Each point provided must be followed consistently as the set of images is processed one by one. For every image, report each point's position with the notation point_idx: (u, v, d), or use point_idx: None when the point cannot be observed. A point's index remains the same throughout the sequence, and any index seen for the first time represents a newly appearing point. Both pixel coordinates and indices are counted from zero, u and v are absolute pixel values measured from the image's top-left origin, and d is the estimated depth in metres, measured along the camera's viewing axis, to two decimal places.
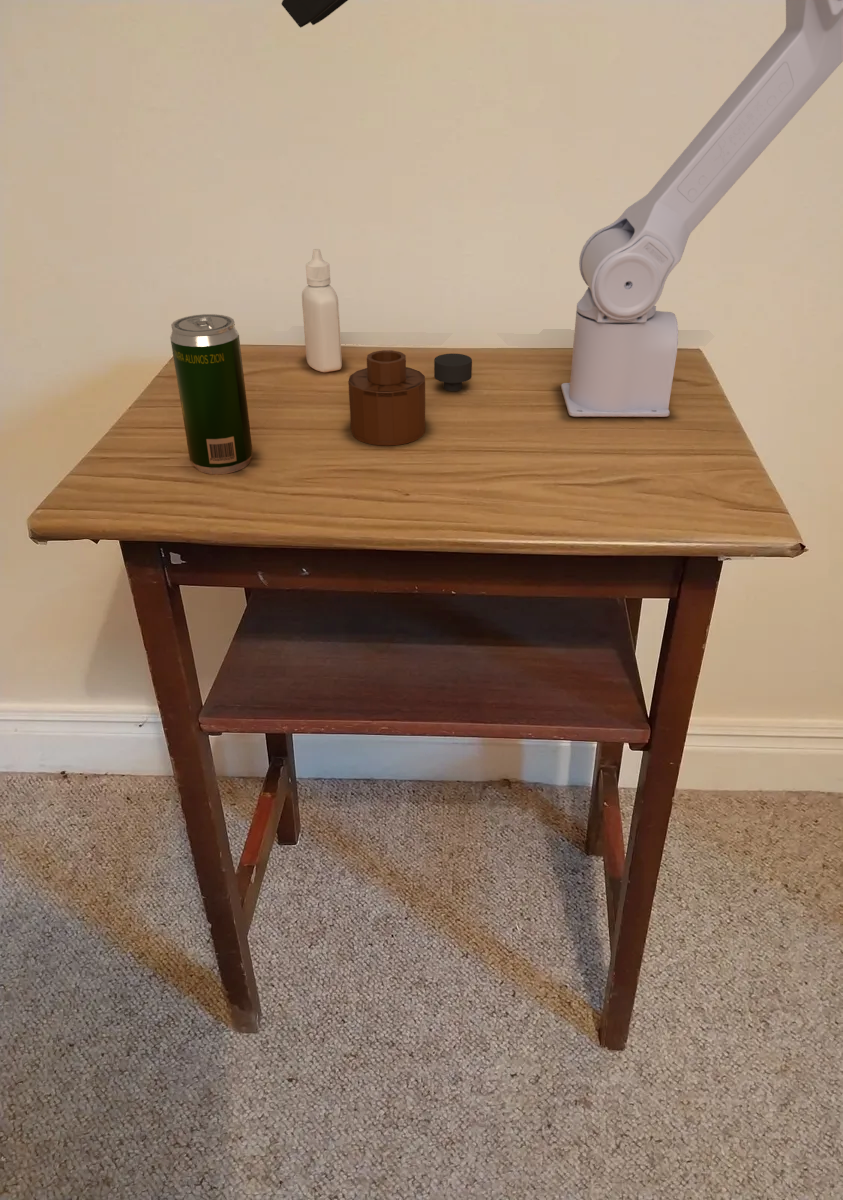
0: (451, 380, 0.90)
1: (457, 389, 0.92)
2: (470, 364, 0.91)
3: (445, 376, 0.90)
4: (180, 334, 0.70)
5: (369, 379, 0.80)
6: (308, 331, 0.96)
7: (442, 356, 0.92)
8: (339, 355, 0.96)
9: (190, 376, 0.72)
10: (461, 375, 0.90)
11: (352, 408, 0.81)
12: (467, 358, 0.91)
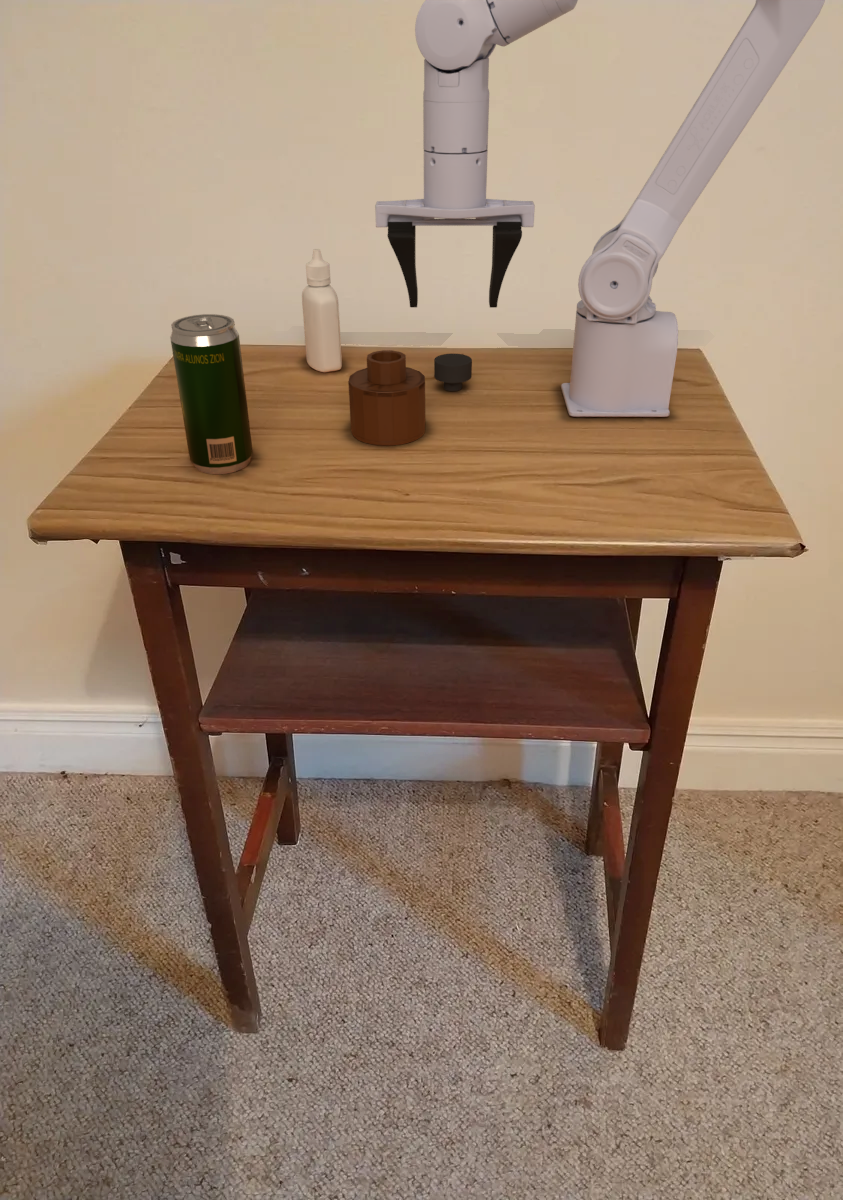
0: (451, 380, 0.90)
1: (457, 389, 0.92)
2: (470, 364, 0.91)
3: (445, 376, 0.90)
4: (180, 334, 0.70)
5: (369, 379, 0.80)
6: (308, 331, 0.96)
7: (442, 356, 0.92)
8: (339, 355, 0.96)
9: (190, 376, 0.72)
10: (461, 375, 0.90)
11: (352, 408, 0.81)
12: (467, 358, 0.91)
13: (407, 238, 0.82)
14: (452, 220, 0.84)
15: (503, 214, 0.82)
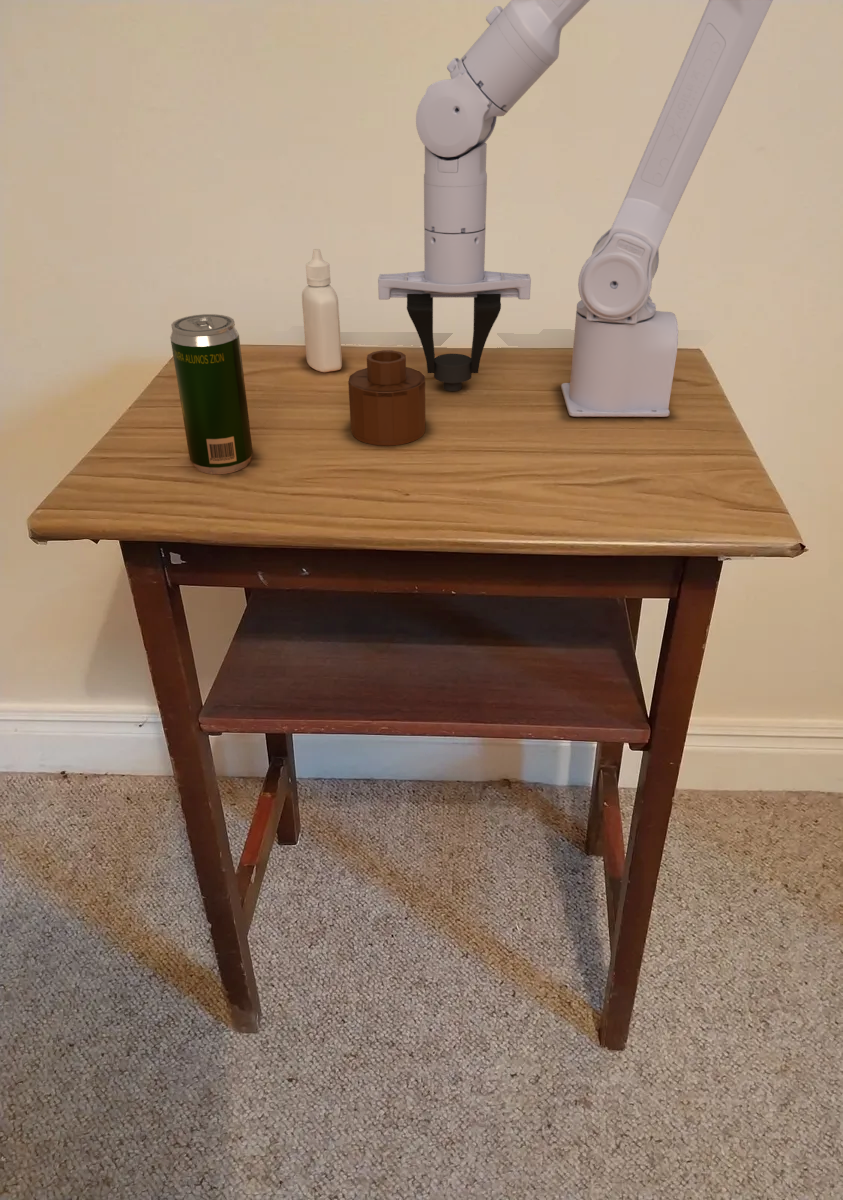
0: (451, 381, 0.90)
1: (457, 389, 0.92)
2: (470, 364, 0.91)
3: (445, 376, 0.90)
4: (180, 334, 0.70)
5: (369, 379, 0.80)
6: (308, 331, 0.96)
7: (442, 356, 0.92)
8: (339, 355, 0.96)
9: (190, 376, 0.72)
10: (461, 375, 0.90)
11: (352, 408, 0.81)
12: (467, 358, 0.91)
13: (426, 311, 0.86)
14: (452, 292, 0.87)
15: (500, 288, 0.86)
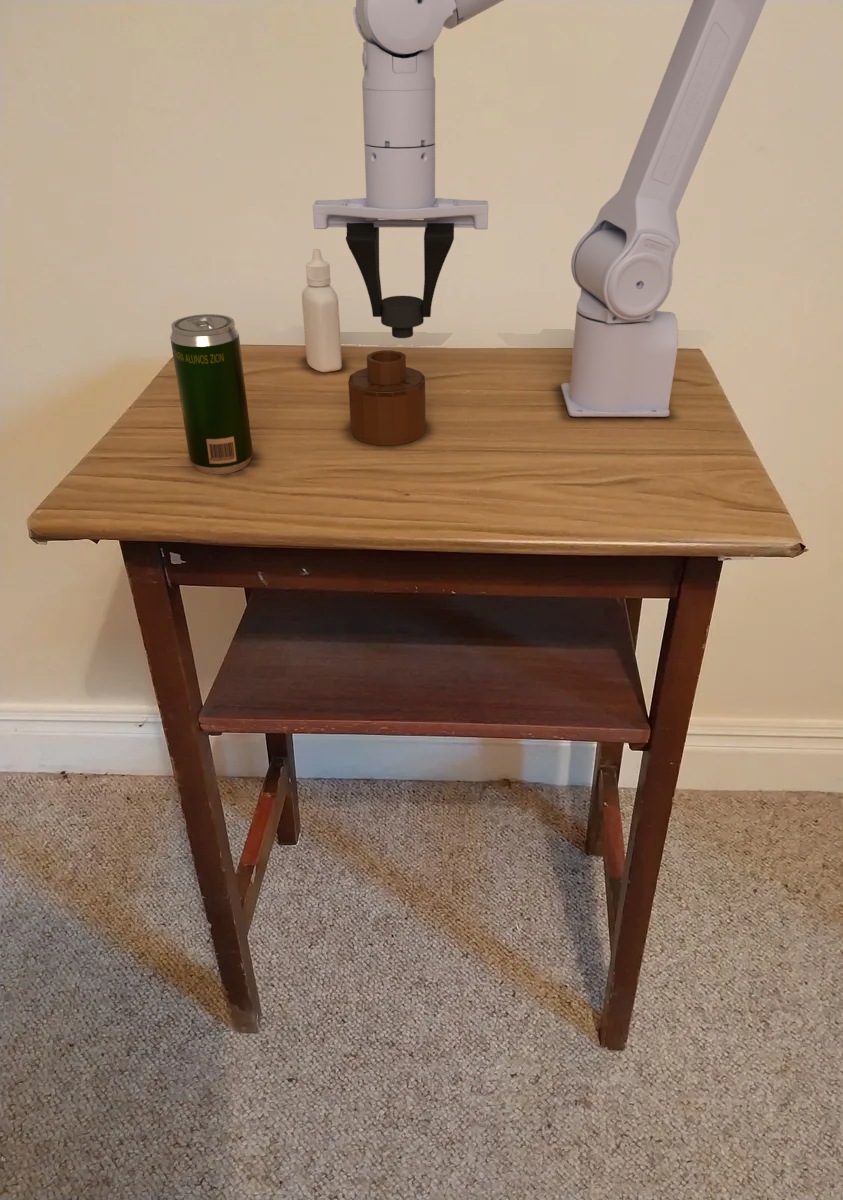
0: (399, 325, 0.79)
1: (407, 336, 0.81)
2: (421, 306, 0.79)
3: (392, 320, 0.79)
4: (180, 334, 0.70)
5: (369, 379, 0.80)
6: (308, 331, 0.96)
7: (390, 298, 0.81)
8: (339, 355, 0.96)
9: (190, 376, 0.72)
10: (410, 319, 0.79)
11: (352, 408, 0.81)
12: (418, 300, 0.80)
13: (367, 241, 0.75)
14: (398, 221, 0.76)
15: (453, 215, 0.74)
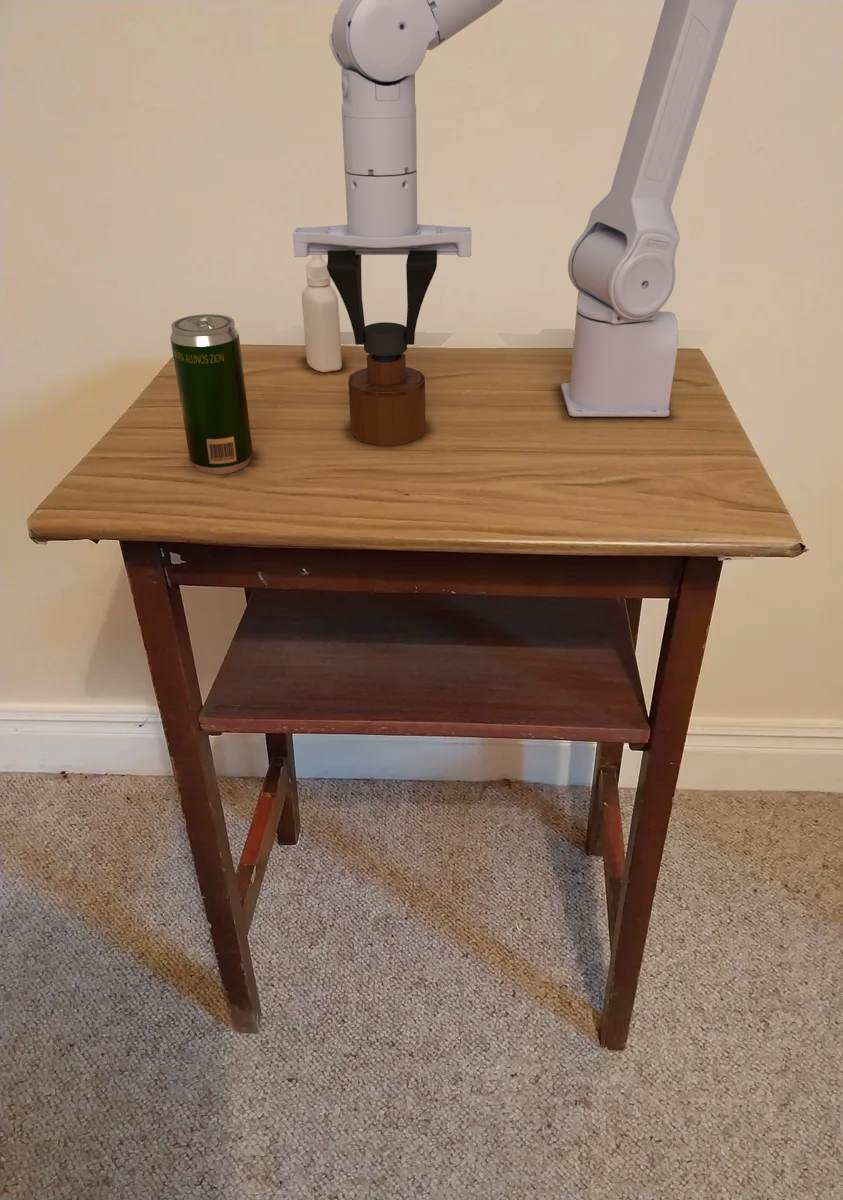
0: (382, 353, 0.78)
1: None
2: (404, 334, 0.78)
3: (375, 348, 0.78)
4: (180, 334, 0.70)
5: (369, 379, 0.80)
6: (308, 331, 0.96)
7: (373, 325, 0.79)
8: (339, 355, 0.96)
9: (190, 376, 0.72)
10: (394, 346, 0.78)
11: (352, 408, 0.81)
12: (401, 327, 0.79)
13: (348, 269, 0.73)
14: (380, 249, 0.75)
15: (436, 242, 0.73)
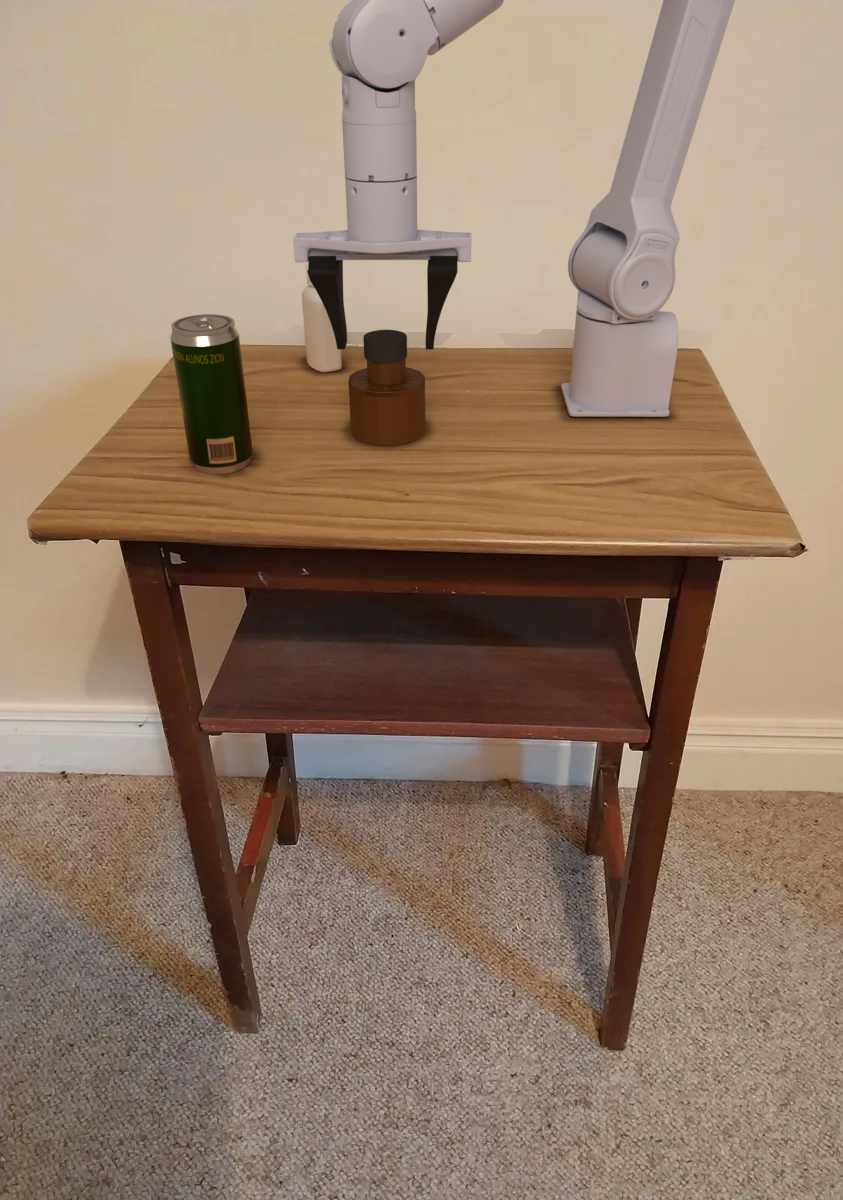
0: (382, 360, 0.78)
1: None
2: (404, 341, 0.79)
3: (375, 355, 0.78)
4: (180, 334, 0.70)
5: (369, 379, 0.80)
6: (308, 331, 0.96)
7: (373, 332, 0.80)
8: (339, 355, 0.96)
9: (190, 376, 0.72)
10: (394, 354, 0.78)
11: (352, 408, 0.81)
12: (401, 334, 0.79)
13: (328, 275, 0.74)
14: (380, 254, 0.75)
15: (436, 248, 0.73)
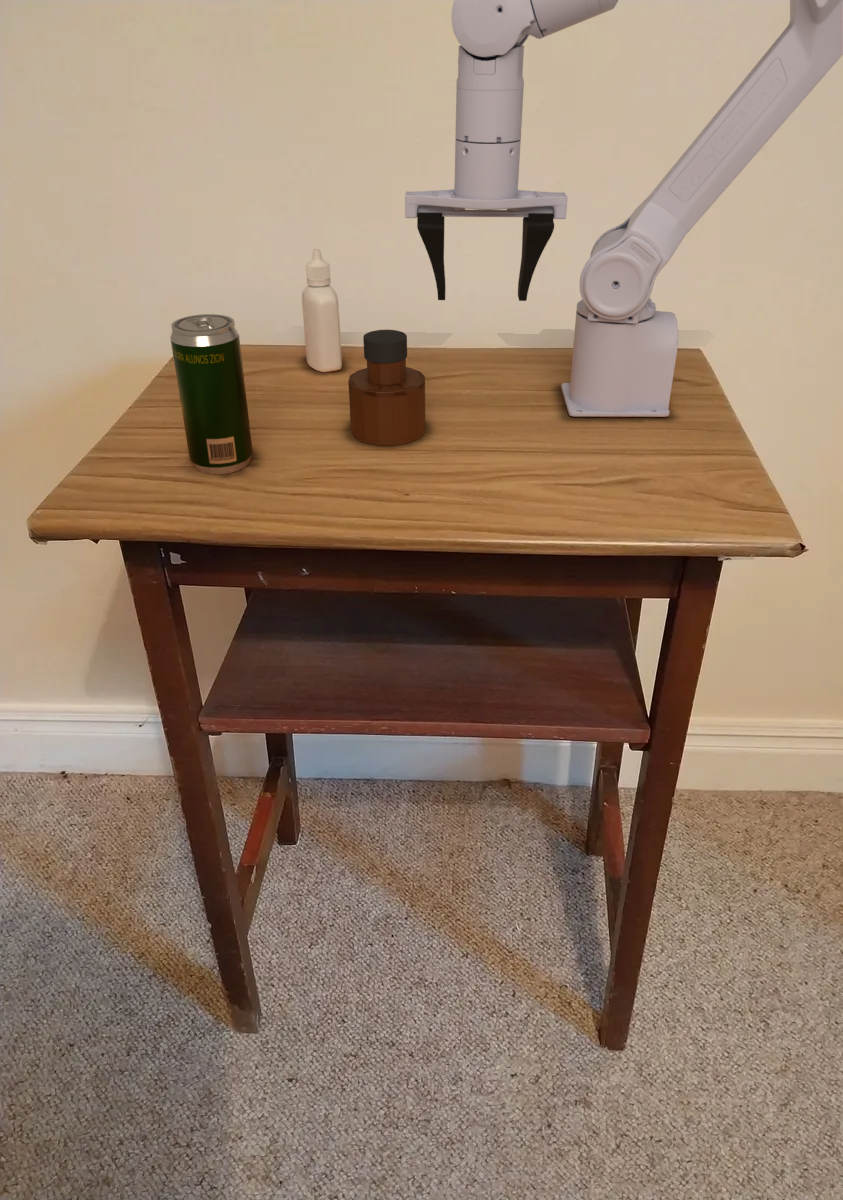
0: (382, 360, 0.78)
1: None
2: (404, 341, 0.79)
3: (375, 355, 0.78)
4: (180, 334, 0.70)
5: (369, 379, 0.80)
6: (308, 331, 0.96)
7: (373, 332, 0.80)
8: (339, 355, 0.96)
9: (190, 376, 0.72)
10: (394, 354, 0.78)
11: (352, 408, 0.81)
12: (401, 334, 0.79)
13: (437, 229, 0.81)
14: (483, 211, 0.82)
15: (535, 205, 0.81)
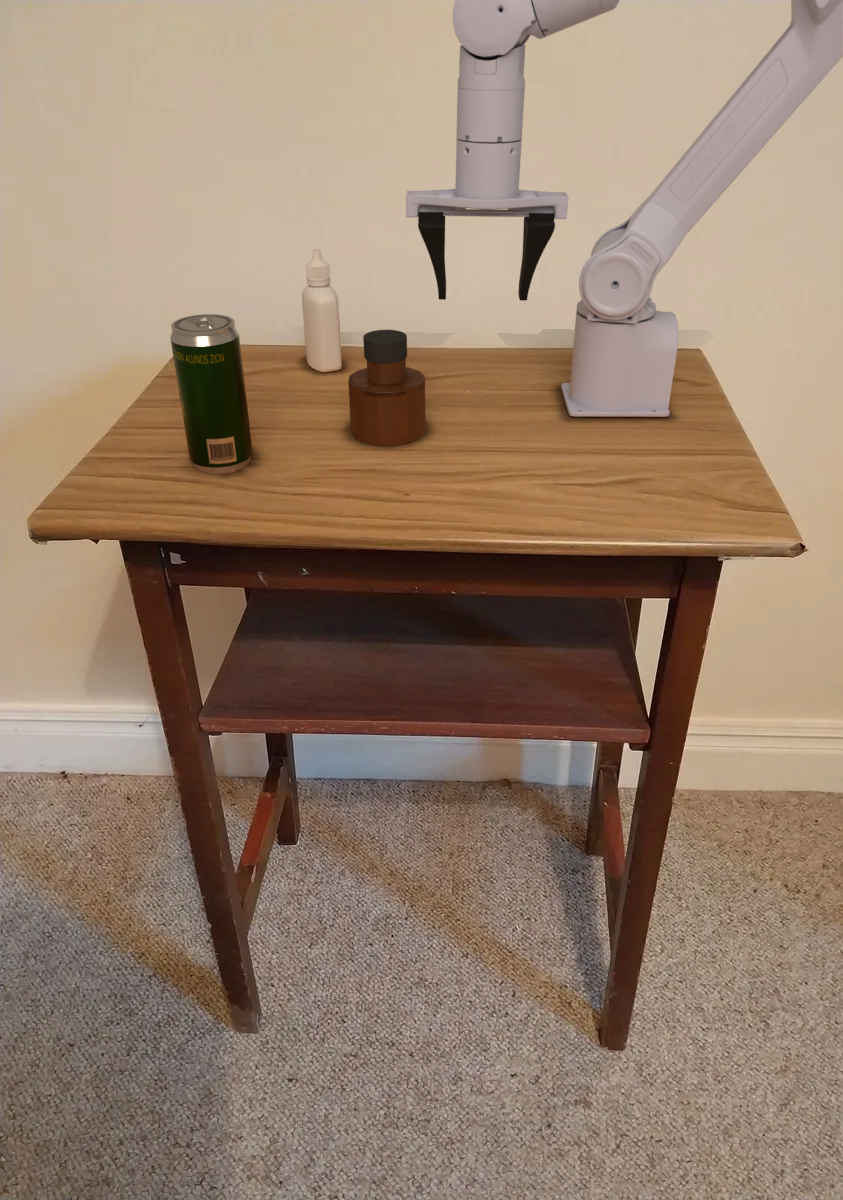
0: (382, 360, 0.78)
1: None
2: (404, 341, 0.79)
3: (375, 355, 0.78)
4: (180, 334, 0.70)
5: (369, 379, 0.80)
6: (308, 331, 0.96)
7: (373, 332, 0.80)
8: (339, 355, 0.96)
9: (190, 376, 0.72)
10: (394, 354, 0.78)
11: (352, 408, 0.81)
12: (401, 334, 0.79)
13: (438, 228, 0.81)
14: (484, 211, 0.82)
15: (536, 205, 0.81)
